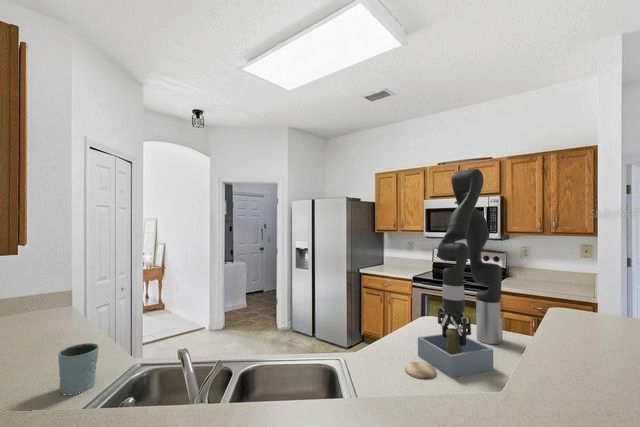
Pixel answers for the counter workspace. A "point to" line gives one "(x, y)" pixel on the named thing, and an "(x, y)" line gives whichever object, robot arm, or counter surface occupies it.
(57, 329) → the counter surface
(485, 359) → the bin
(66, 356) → the blue-grey textured cup
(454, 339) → the pepper shaker
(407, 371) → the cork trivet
